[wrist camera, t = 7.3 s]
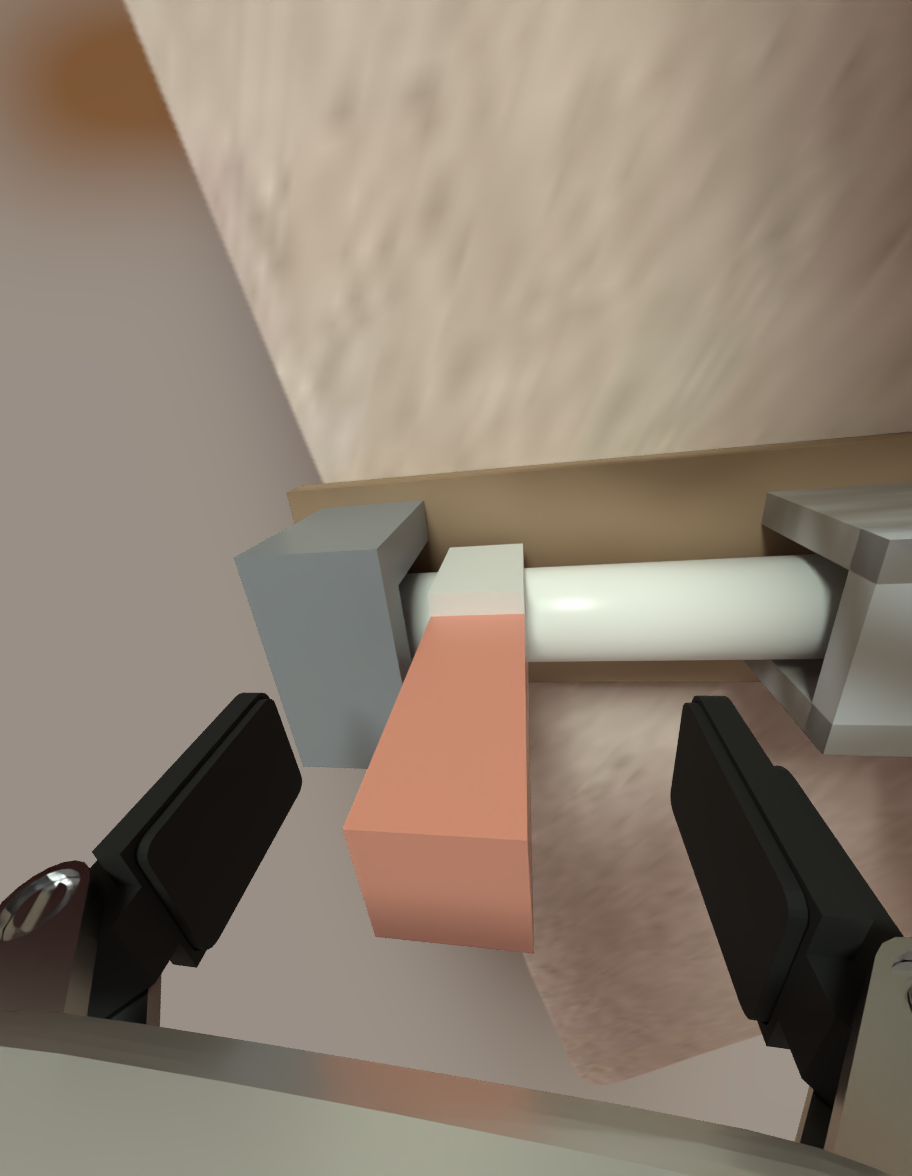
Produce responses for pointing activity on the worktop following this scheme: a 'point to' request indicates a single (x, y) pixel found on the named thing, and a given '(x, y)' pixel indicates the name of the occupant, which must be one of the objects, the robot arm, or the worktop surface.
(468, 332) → the worktop surface
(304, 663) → the socket
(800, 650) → the slide bolt
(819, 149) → the worktop surface
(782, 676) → the roller board
